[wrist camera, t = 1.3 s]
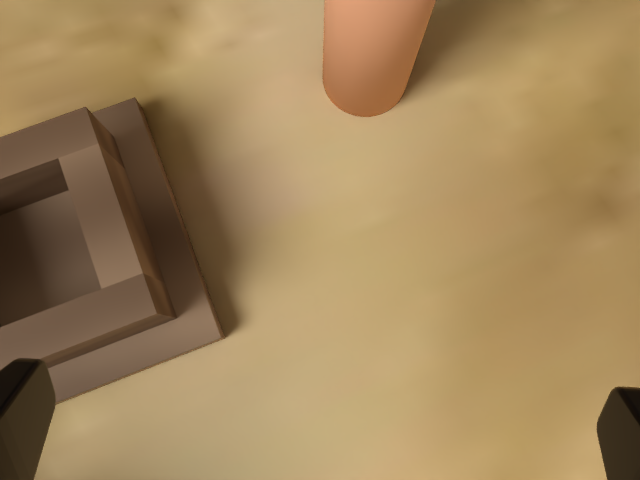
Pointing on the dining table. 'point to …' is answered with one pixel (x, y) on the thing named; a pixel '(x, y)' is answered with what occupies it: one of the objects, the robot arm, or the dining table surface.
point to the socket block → (95, 252)
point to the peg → (371, 51)
